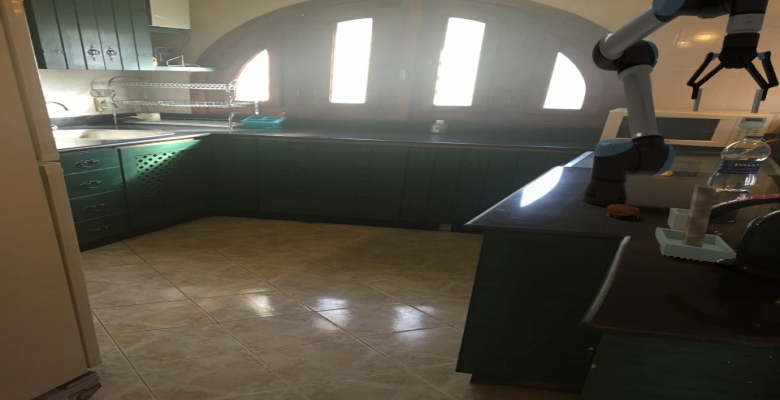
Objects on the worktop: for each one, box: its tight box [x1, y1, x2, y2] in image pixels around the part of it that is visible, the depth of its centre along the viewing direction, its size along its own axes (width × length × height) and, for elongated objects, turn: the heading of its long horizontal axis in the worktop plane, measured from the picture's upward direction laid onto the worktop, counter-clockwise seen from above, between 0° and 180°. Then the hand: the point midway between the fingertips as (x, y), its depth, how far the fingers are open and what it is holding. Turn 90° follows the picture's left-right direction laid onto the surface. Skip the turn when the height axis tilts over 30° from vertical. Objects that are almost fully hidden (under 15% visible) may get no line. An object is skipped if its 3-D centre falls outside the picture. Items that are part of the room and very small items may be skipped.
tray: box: [654, 226, 737, 262], centre depth 102 cm, size 14×14×3 cm
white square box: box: [667, 207, 690, 231], centre depth 117 cm, size 8×8×6 cm
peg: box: [682, 183, 717, 248], centre depth 100 cm, size 4×4×16 cm
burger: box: [605, 204, 641, 221], centre depth 128 cm, size 10×9×5 cm
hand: (723, 112), depth 114 cm, fingers open, 13 cm apart
